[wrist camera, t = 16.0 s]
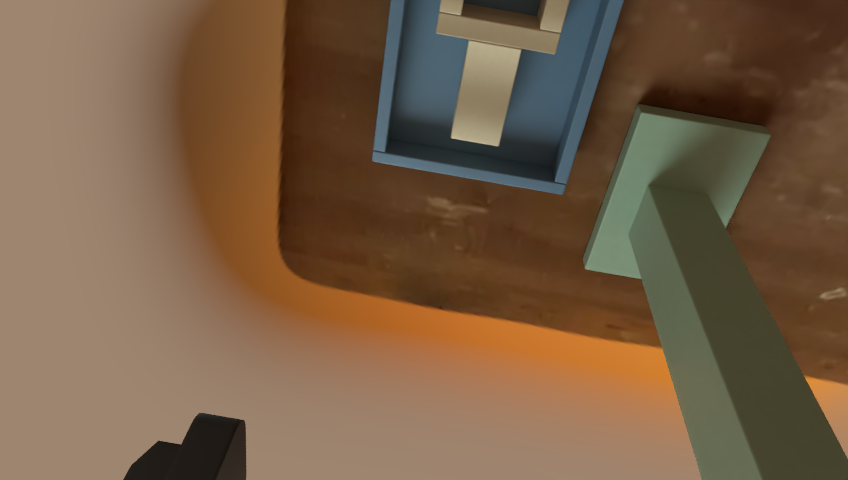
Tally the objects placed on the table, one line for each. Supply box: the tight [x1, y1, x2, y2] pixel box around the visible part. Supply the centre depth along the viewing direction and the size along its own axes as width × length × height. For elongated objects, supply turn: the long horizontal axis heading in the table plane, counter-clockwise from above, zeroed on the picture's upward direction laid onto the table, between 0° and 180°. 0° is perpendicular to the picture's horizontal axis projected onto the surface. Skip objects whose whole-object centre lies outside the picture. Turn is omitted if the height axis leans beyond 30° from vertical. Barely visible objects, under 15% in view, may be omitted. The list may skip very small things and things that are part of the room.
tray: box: [372, 0, 624, 194], centre depth 28 cm, size 15×9×2 cm, turn 172°
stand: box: [583, 104, 848, 480], centre depth 20 cm, size 9×6×32 cm, turn 172°
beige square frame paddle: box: [436, 0, 570, 146], centre depth 28 cm, size 10×5×2 cm, turn 172°
